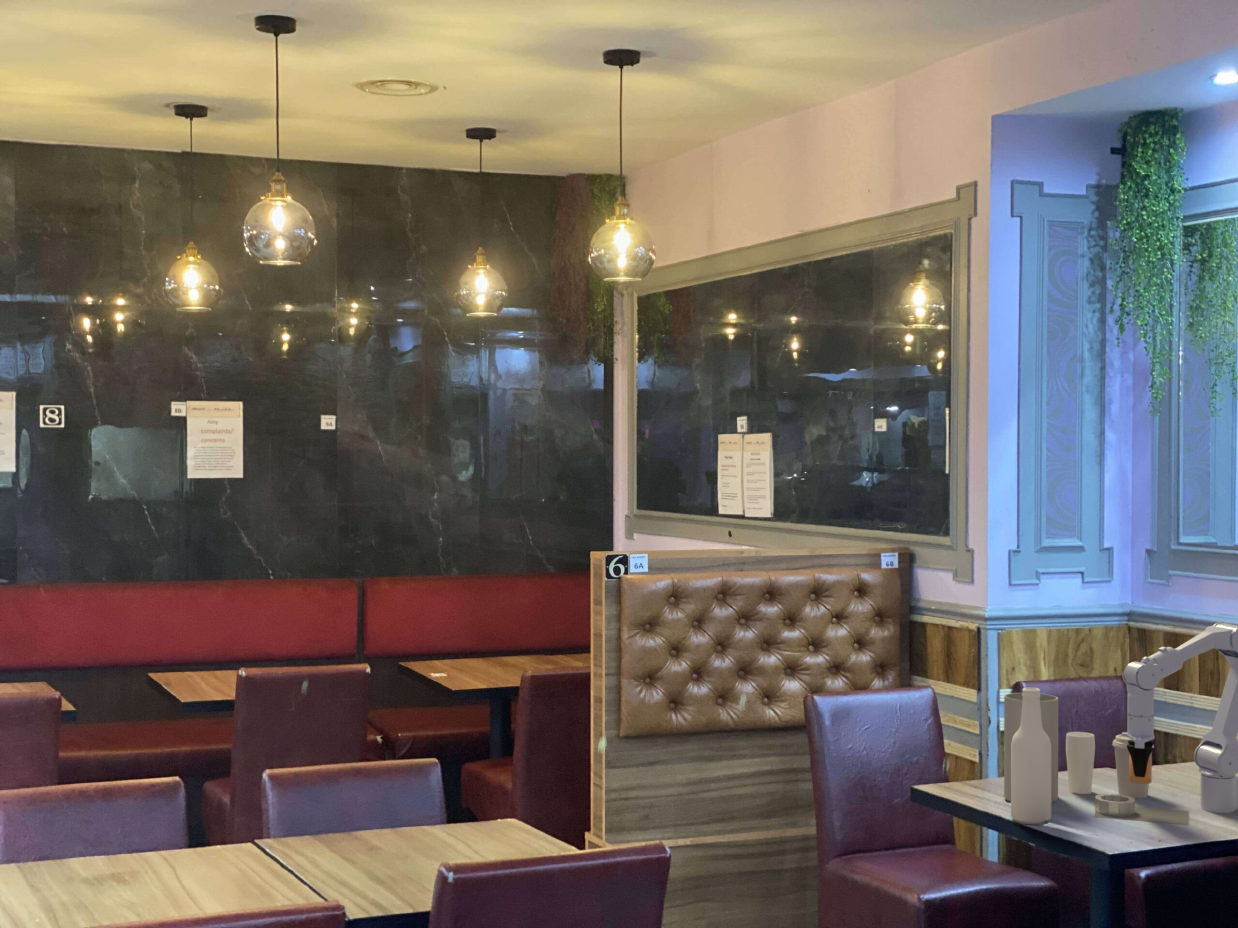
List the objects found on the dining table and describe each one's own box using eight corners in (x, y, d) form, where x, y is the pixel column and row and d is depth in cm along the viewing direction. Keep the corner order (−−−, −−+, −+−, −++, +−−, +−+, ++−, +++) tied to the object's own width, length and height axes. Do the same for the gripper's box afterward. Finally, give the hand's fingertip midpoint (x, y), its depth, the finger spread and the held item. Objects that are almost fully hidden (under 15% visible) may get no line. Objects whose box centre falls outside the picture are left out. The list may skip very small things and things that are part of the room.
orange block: (1136, 777, 332) (1137, 752, 332) (1155, 781, 328) (1156, 755, 328) (1124, 780, 329) (1125, 754, 329) (1143, 784, 326) (1144, 758, 326)
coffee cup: (1154, 804, 342) (1154, 741, 341) (1112, 801, 345) (1112, 739, 345) (1153, 795, 351) (1153, 734, 351) (1112, 793, 354) (1112, 732, 354)
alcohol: (1034, 814, 333) (1034, 684, 332) (1059, 822, 324) (1059, 690, 324) (1003, 817, 329) (1003, 686, 329) (1027, 826, 321) (1027, 692, 321)
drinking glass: (1096, 799, 347) (1096, 737, 347) (1067, 797, 349) (1067, 736, 349) (1092, 792, 354) (1093, 732, 354) (1064, 791, 355) (1064, 730, 355)
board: (1093, 820, 326) (1093, 816, 326) (1097, 807, 339) (1097, 802, 339) (1188, 829, 319) (1188, 824, 319) (1188, 814, 332) (1188, 810, 332)
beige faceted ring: (1109, 804, 337) (1109, 792, 337) (1142, 812, 330) (1142, 799, 330) (1087, 810, 332) (1087, 797, 332) (1120, 817, 325) (1120, 804, 325)
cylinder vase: (1066, 799, 347) (1066, 696, 347) (1045, 809, 337) (1045, 702, 337) (1017, 791, 355) (1017, 690, 355) (995, 801, 345) (995, 697, 345)
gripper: (1123, 708, 337) (1122, 766, 337) (1120, 718, 324) (1120, 778, 324) (1155, 710, 335) (1154, 768, 335) (1154, 720, 321) (1153, 781, 321)
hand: (1140, 774), depth 329 cm, fingers closed on orange block, 5 cm apart
